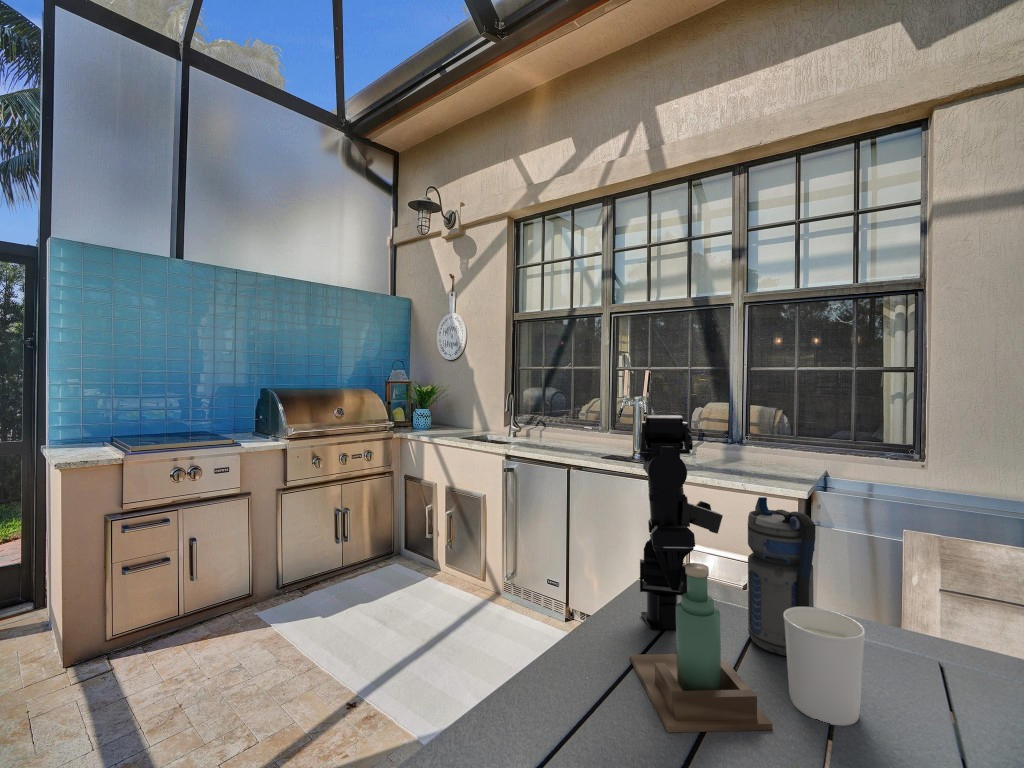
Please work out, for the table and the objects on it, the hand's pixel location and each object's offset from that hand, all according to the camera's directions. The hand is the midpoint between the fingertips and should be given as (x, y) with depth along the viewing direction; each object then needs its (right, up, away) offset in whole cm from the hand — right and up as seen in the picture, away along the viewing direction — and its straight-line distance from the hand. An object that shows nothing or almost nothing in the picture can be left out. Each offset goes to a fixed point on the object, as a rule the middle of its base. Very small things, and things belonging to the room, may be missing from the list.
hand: (673, 583), depth 81 cm
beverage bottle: (+21, -13, +4) cm, 25 cm away
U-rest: (0, -12, -9) cm, 15 cm away
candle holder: (+17, -13, -12) cm, 25 cm away
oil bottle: (0, -12, -11) cm, 16 cm away
